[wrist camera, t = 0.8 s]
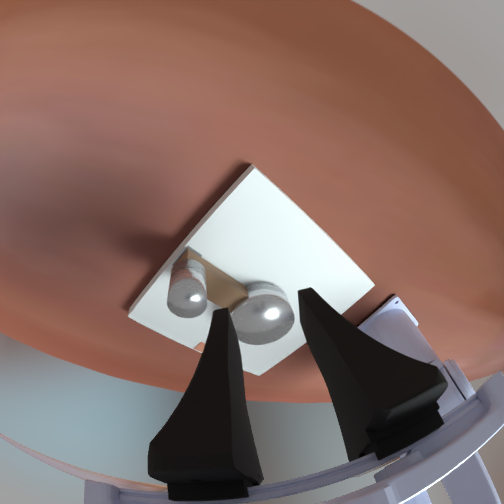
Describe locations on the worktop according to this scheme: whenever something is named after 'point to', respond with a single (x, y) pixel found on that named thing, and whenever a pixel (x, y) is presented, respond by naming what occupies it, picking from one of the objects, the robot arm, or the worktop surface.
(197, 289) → the silver piece
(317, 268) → the base
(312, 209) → the worktop surface
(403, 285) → the worktop surface
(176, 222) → the worktop surface
